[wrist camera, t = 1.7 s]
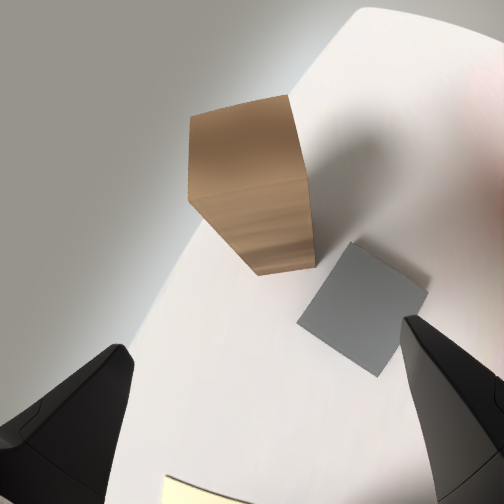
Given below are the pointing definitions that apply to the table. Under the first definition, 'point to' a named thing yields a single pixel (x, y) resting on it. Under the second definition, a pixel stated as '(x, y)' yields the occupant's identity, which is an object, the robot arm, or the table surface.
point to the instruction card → (189, 494)
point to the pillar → (253, 183)
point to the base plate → (362, 308)
